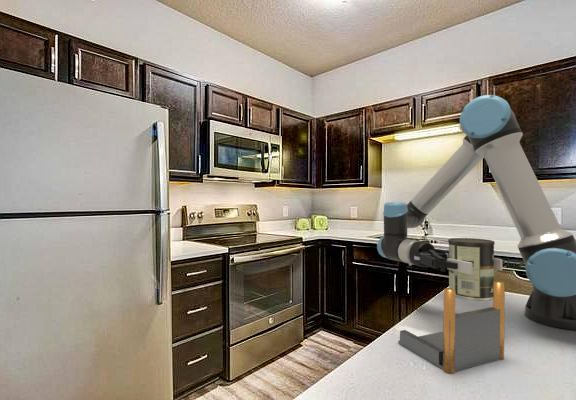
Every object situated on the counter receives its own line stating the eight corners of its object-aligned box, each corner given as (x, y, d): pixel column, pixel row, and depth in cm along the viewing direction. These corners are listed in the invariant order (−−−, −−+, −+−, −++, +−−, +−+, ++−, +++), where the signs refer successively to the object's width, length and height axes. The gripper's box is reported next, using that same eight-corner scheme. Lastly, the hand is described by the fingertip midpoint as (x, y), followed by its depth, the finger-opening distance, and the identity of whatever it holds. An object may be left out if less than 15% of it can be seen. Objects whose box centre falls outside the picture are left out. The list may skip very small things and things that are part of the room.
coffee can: (484, 290, 86) (484, 238, 86) (502, 302, 76) (502, 243, 76) (443, 288, 88) (443, 237, 88) (455, 300, 78) (455, 242, 78)
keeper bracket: (449, 332, 81) (449, 269, 81) (506, 358, 68) (506, 283, 68) (397, 343, 75) (398, 274, 75) (449, 374, 62) (450, 291, 62)
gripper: (444, 262, 103) (516, 277, 82) (387, 268, 94) (453, 287, 74) (444, 239, 103) (516, 248, 82) (387, 242, 94) (453, 254, 74)
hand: (486, 266), depth 78 cm, fingers closed on coffee can, 10 cm apart
